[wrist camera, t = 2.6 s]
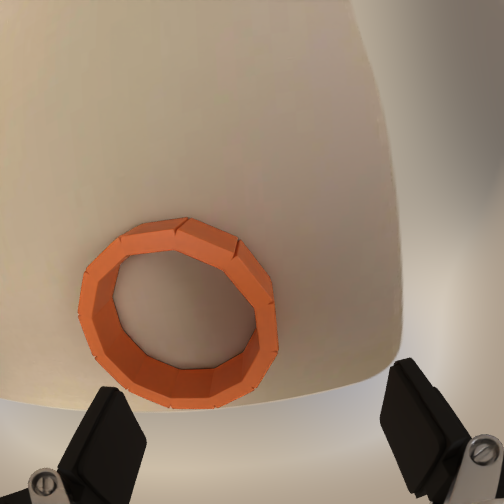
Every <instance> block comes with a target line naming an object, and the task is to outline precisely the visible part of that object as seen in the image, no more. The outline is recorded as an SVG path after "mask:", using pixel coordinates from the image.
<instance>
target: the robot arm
mask: <svg viewBox="0 0 504 504" xmlns="http://www.w3.org/2000/svg"><path fill="white" fill-rule="evenodd" d="M380 424H381V427H382V429H383V431H384V434H385V435H386V438H387V440H388V443H389V445H390V447H391V449H392V452H393V454H394V456H395V458H396V461H397V464H398V466H399V468H400V471H401V473H402V475H403V478H404V480H405V483H406V485H407V488H408V490H409V492H410V493H411V494H412V493H415V495H416V498H419V497H422V496H424V495H428V498H429V500H430V501H431V502H430V504H504V449H503V446H502V443H501V442H500V441H499V439H497V438H496V437H494V436H491V435H487V434H482V435H479V436H476V437H474V438H473V439H472V438H471V436H470V435H469V433H468V432H467V430H466V429H465V428H464V426H463V424H462V423H461V421H460V420H459V418H458V417H457V416H456V414H455V413H454V411H453V410H452V408H451V407H450V405H449V404H448V403H447V401H446V400H445V398H444V397H443V396H442V394H441V393H440V391H439V390H438V389H437V388H436V387H433V386H432V385H431V383H430V382H429V381H428V379H427V378H426V377H425V375H424V374H423V372H422V371H421V370H420V368H419V367H418V365H417V364H416V363H415V361H414V360H413V359H412V358H407V359H402V360H399V361H396V362H395V363H394V366H391V367H390V370H389V376H388V381H387V386H386V391H385V396H384V401H383V405H382V410H381V414H380ZM146 445H147V442H146V437H145V435H144V433H143V431H142V430H141V428H140V426H139V424H138V422H137V420H136V418H135V416H134V414H133V412H132V410H131V408H130V406H129V404H128V402H127V400H126V398H125V396H124V394H123V392H121V391H119V389H118V388H116V387H104V386H103V387H101V388H100V389H99V391H98V393H97V394H96V396H95V398H94V400H93V401H92V403H91V405H90V407H89V408H88V410H87V412H86V414H85V416H84V418H83V419H82V421H81V423H80V425H79V427H78V428H77V430H76V432H75V434H74V436H73V438H72V440H71V441H70V443H69V445H68V447H67V449H66V451H65V453H64V455H63V457H62V459H61V461H60V463H59V465H58V470H57V472H56V471H55V470H53V469H50V468H42V469H39V470H37V471H35V472H34V473H33V474H32V475H31V477H30V478H29V482H28V488H26V489H24V490H21V491H18V492H15V493H13V494H9V495H6V496H3V497H0V504H129V502H130V499H131V495H132V492H133V488H134V485H135V481H136V478H137V475H138V471H139V468H140V465H141V461H142V458H143V455H144V451H145V448H146Z"/></svg>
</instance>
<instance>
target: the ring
mask: <svg viewBox="0 0 504 504" xmlns="http://www.w3.org/2000/svg"><path fill="white" fill-rule="evenodd" d="M237 240H238V237H236V236H233V235H231V234H229V233H226V232H224V231H222V230H219V229H217V228H214V227H212V226H210V225H207V224H205V223H202V222H200V221H198V220H195V219H193V218H190V219H189V220H188V217H186V218H178V219H171V220H164V221H157V222H151V223H144V224H141V225H139V226H137V227H135V228H133V229H132V230H130V231H128V232H126V233H125V234H123V235H121V236H119V237H118V238H116V239H115V240H114V241H113V242H112V243H111V244H110V245H109V246H108V247H107V248H106V249H105V250H104V251H103V252H102V253H101V254H100V255H99V256H98V257H97V258H96V259H95V260H94V261H93V262H92V263H91V264H90V265H89V266H88V267H87V268H86V271H85V272H84V275H83V281H82V287H81V293H80V299H79V306H78V314H79V315H78V318H79V321H80V323H81V326H82V329H83V332H84V334H85V337H86V340H87V342H88V345H89V347H90V350H91V352H92V355H93V356H96V357H95V360H96V361H97V362H98V363H99V364H100V365H101V366H102V367H103V368H104V369H105V370H106V371H107V372H108V373H109V374H110V375H111V376H112V377H113V378H114V379H115V380H116V381H117V382H118V383H119V384H120V385H122V386H123V387H124V388H125V389H128V388H129V389H128V391H129V392H131V393H134V394H136V395H138V396H140V397H143V398H145V399H147V400H150V401H152V402H155V403H157V404H160V405H162V406H165V407H167V408H170V405H171V408H173V409H214V408H215V407H216V408H219V407H221V406H223V405H225V404H227V403H230V402H232V401H234V400H236V399H238V398H240V397H242V396H244V395H246V394H248V393H250V392H252V391H254V388H257V387H258V385H259V383H260V382H261V380H262V379H263V377H264V375H265V374H266V372H267V370H268V369H269V367H270V366H271V364H272V362H273V361H274V359H275V357H276V356H277V354H278V350H279V345H278V334H277V323H276V312H275V303H274V295H273V288H272V282H271V280H270V277H269V275H268V274H267V273H266V272H265V270H264V269H263V268H262V266H261V265H260V264H259V263H258V261H257V260H256V259H255V257H254V256H253V255H252V253H251V252H250V251H249V250H248V248H247V247H246V246H245V244H244V243H243V242H242V241H241V240H239V241H237ZM170 250H176V251H178V252H180V253H183V254H185V255H187V256H190V257H192V258H194V259H197V260H199V261H202V262H204V263H206V264H209V265H211V266H214V267H216V268H218V269H221V270H223V271H224V273H225V274H226V275H227V276H228V278H229V279H230V280H231V281H232V282H233V284H234V285H235V286H236V287H237V289H238V290H239V291H240V292H241V293H242V295H243V296H244V297H245V298H246V299H247V301H248V302H249V303H250V304H251V305H252V307H253V308H254V312H255V320H256V329H255V331H254V333H253V335H252V337H251V338H250V340H249V342H248V344H247V346H246V348H245V350H244V352H242V353H241V354H239V355H237V356H236V357H234V358H232V359H230V360H229V361H227V362H225V363H223V364H221V365H220V366H218V367H216V368H214V369H187V370H180V369H177V368H175V367H172V366H170V365H168V364H165V363H163V362H160V361H158V360H156V359H153V358H151V357H149V356H147V355H146V354H145V353H144V352H143V351H142V350H141V349H140V348H139V347H138V346H137V345H136V344H135V343H134V342H133V341H132V340H131V339H130V337H129V336H128V335H127V334H126V333H125V332H124V331H123V330H122V327H121V324H120V321H119V318H118V315H117V312H116V308H115V305H114V302H113V298H112V296H113V292H114V287H115V283H116V279H117V275H118V271H119V267H120V264H121V263H122V262H123V261H125V260H126V259H127V258H128V257H129V256H130V255H136V254H144V253H153V252H161V251H170Z"/></svg>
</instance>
